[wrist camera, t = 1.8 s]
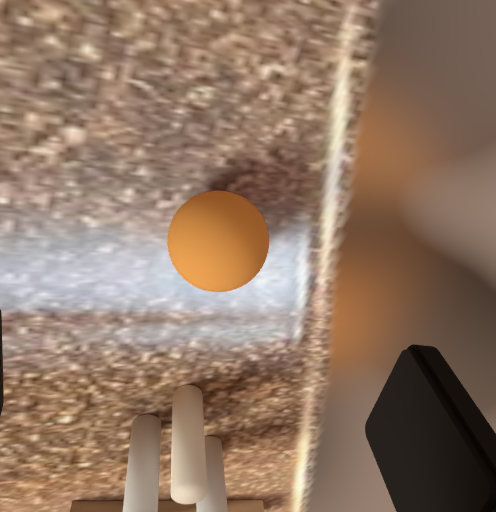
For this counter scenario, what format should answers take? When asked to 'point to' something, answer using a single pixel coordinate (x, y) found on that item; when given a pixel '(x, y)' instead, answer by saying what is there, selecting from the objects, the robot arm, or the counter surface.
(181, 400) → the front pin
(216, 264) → the ball
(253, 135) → the counter surface
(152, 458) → the pin
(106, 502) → the back rail
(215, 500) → the pin
